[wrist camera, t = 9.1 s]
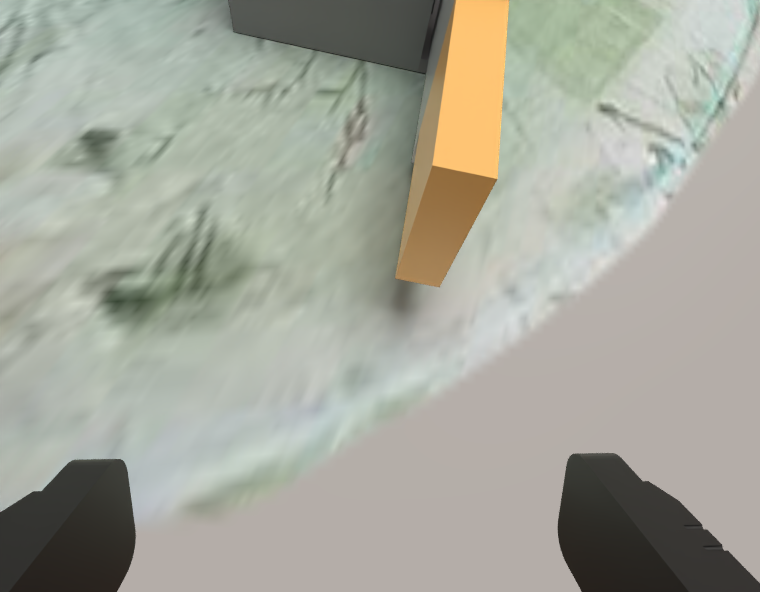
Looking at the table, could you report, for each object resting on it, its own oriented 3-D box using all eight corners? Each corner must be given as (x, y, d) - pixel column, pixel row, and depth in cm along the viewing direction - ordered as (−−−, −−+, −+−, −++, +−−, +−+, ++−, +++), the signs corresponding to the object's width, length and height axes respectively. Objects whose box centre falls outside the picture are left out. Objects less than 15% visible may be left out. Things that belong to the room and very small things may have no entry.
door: (387, 300, 18) (441, 138, 10) (434, 21, 26) (487, -198, 18) (427, 308, 18) (511, 152, 11) (463, 28, 26) (528, -188, 18)
